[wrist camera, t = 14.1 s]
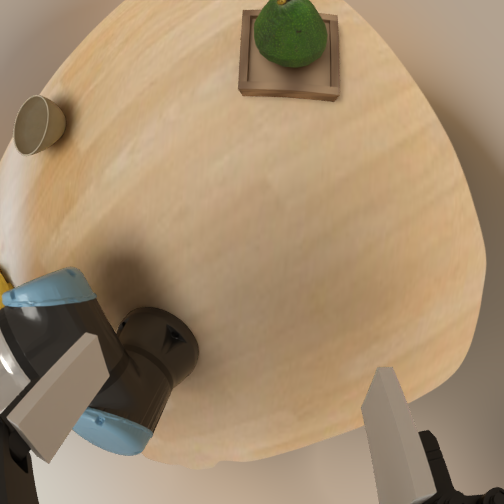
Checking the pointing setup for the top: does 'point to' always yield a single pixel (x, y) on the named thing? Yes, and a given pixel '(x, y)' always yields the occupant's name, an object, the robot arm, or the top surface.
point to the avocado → (290, 33)
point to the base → (286, 78)
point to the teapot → (3, 288)
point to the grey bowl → (37, 125)
